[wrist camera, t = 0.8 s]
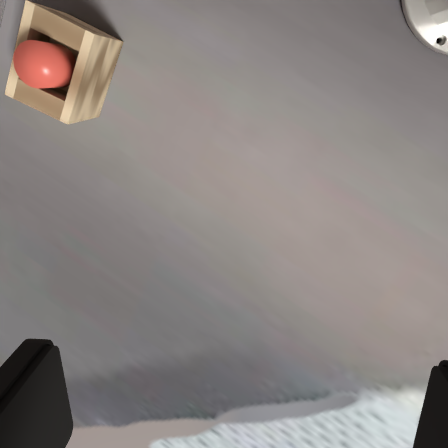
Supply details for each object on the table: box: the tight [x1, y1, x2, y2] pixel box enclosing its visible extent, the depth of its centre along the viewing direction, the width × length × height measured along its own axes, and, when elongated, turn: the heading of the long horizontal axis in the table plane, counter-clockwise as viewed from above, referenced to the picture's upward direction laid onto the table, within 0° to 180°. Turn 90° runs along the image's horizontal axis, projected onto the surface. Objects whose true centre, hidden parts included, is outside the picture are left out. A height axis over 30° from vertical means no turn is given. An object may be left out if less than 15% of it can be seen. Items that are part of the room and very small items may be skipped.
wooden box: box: [5, 0, 123, 124], centre depth 36 cm, size 8×6×7 cm
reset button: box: [13, 40, 76, 88], centre depth 32 cm, size 4×4×4 cm
